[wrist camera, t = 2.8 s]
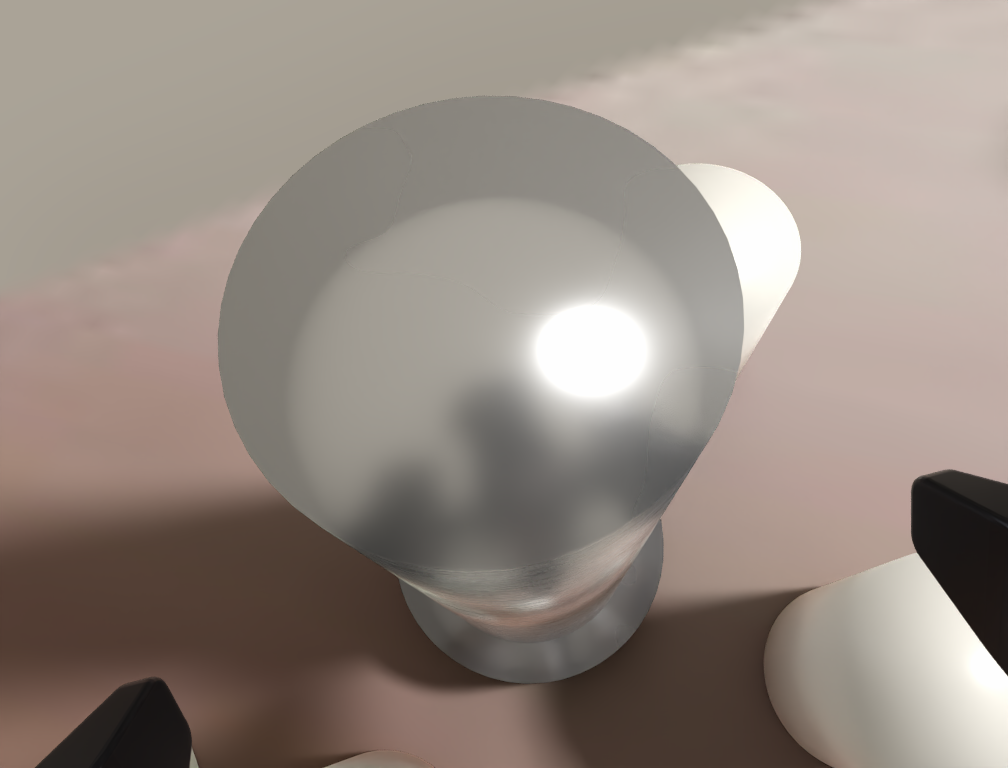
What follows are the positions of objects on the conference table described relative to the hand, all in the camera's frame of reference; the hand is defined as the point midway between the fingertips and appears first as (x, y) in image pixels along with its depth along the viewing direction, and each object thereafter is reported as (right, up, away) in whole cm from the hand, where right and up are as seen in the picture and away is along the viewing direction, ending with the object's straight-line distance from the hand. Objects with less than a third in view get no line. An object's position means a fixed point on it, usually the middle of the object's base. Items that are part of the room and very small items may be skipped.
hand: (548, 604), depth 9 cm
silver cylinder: (0, -2, +10) cm, 10 cm away
